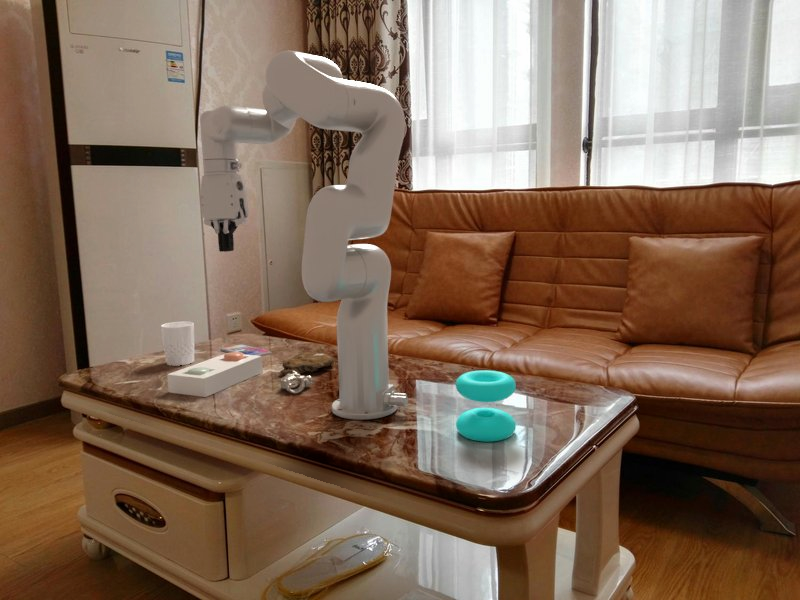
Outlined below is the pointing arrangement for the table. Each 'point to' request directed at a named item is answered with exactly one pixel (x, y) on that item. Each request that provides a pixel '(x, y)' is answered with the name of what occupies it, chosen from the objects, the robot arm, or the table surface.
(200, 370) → the sage button
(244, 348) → the smartphone
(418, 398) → the table surface
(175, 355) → the white cup
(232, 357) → the terracotta button
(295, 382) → the ornament
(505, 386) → the donuts
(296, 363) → the decorative rock
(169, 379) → the button box
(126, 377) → the table surface
